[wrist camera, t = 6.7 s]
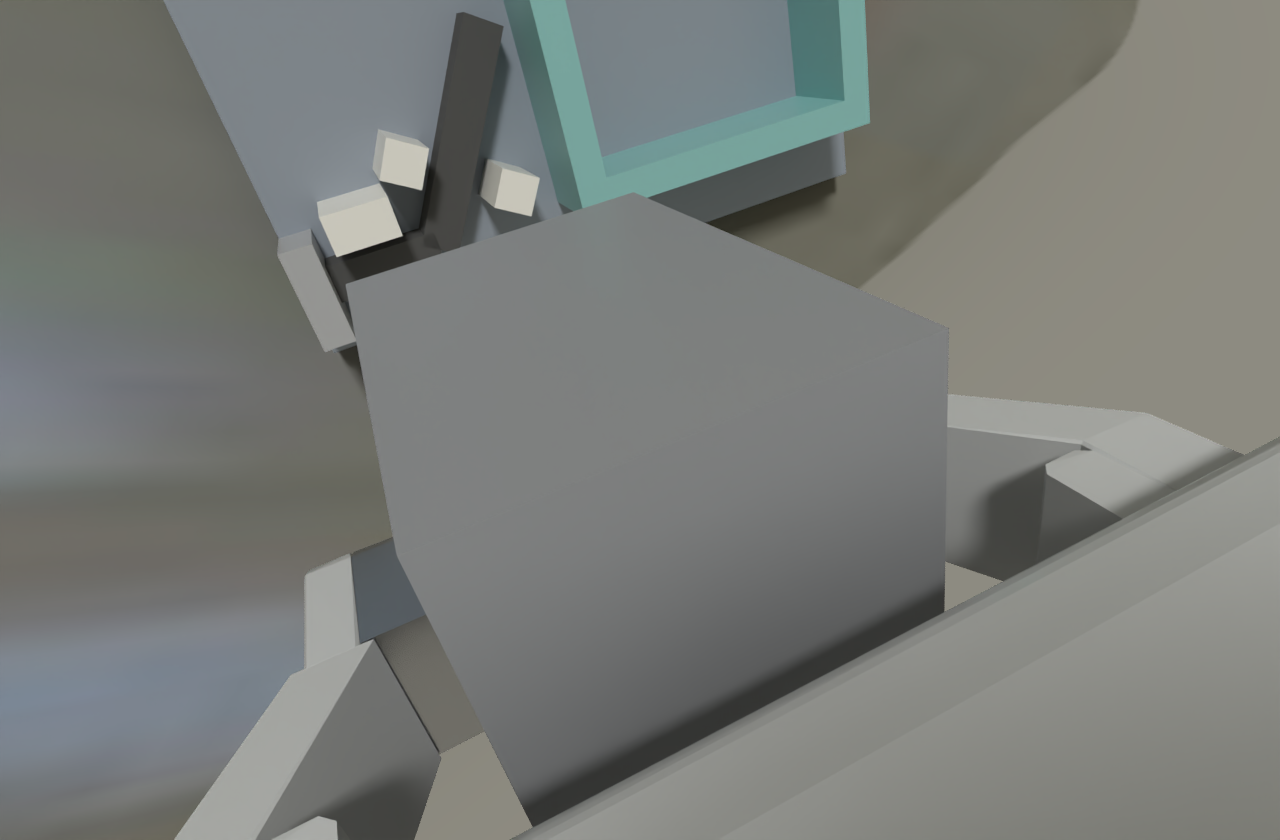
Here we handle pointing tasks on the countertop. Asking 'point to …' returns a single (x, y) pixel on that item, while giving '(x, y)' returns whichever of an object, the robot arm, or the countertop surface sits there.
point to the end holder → (581, 177)
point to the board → (511, 145)
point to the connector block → (649, 479)
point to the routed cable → (440, 159)
